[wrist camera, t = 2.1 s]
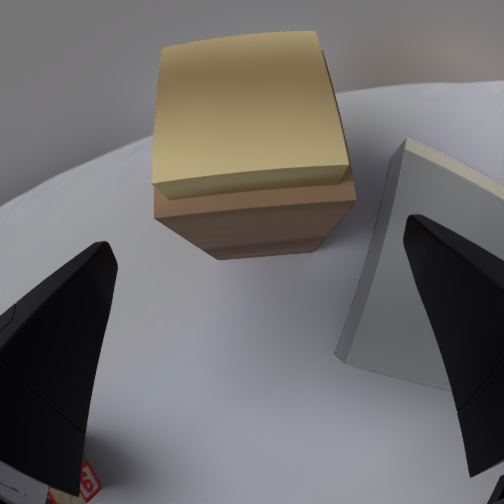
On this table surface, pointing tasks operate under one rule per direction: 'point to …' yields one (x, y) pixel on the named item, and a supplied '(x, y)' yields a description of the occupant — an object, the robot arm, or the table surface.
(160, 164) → the brown rectangular block
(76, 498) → the stack of blocks
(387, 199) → the dock
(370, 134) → the table surface
